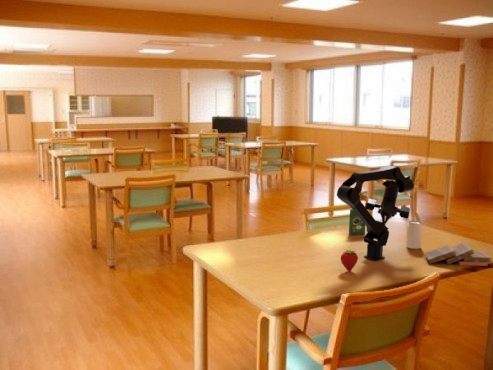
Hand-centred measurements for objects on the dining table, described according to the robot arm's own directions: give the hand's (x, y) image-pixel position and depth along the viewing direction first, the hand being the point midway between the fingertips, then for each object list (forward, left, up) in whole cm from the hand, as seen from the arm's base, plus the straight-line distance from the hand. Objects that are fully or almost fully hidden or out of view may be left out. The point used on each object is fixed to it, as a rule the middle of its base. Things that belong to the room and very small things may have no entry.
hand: (383, 224), depth 223 cm
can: (+16, -4, -12) cm, 21 cm away
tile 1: (+5, -20, -11) cm, 23 cm away
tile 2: (+10, -25, -11) cm, 29 cm away
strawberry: (-33, -10, -12) cm, 36 cm away
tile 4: (+14, -28, -12) cm, 33 cm away
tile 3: (+14, -28, -10) cm, 33 cm away
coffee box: (+13, +28, -12) cm, 33 cm away
